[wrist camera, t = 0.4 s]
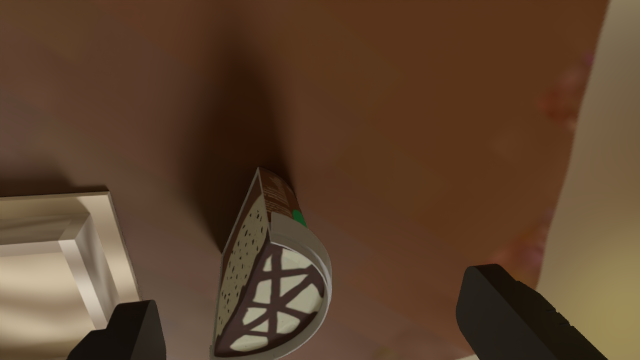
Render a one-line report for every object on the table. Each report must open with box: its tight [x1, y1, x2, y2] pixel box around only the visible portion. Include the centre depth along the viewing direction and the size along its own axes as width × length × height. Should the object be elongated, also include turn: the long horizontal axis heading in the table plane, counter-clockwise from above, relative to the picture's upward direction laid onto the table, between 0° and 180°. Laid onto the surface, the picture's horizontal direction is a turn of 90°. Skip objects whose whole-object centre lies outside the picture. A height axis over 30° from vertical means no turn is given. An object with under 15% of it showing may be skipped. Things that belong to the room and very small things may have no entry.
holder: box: [0, 191, 142, 360], centre depth 29 cm, size 20×16×4 cm
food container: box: [209, 166, 332, 360], centre depth 27 cm, size 12×6×10 cm, turn 155°
